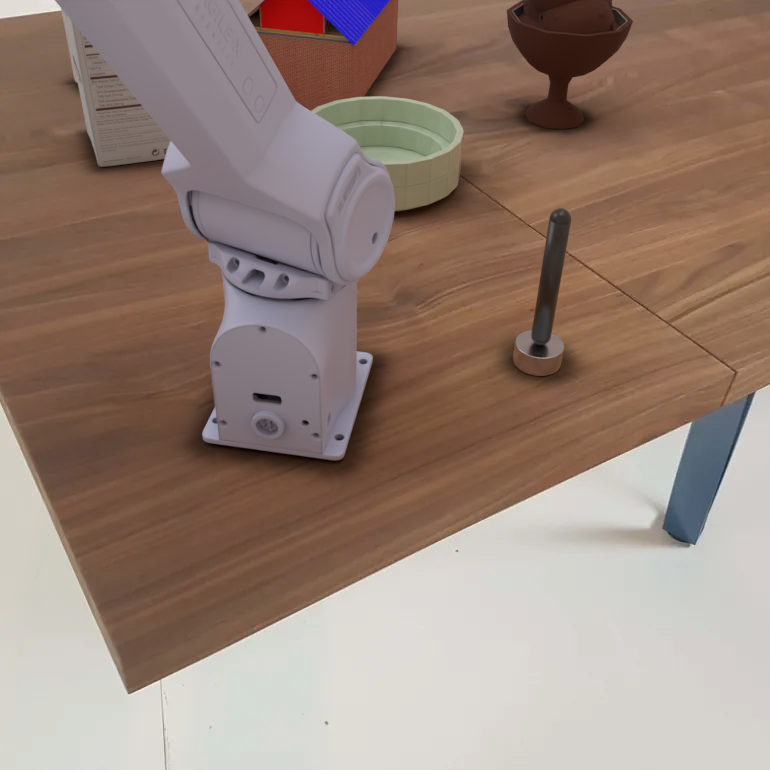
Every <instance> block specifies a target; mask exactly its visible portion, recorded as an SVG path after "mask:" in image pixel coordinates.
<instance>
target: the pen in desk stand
mask: <svg viewBox="0 0 770 770" xmlns="http://www.w3.org/2000/svg"><path fill="white" fill-rule="evenodd" d="M571 223H572V215H571V213H570V211H568V210H567V209H566V208H563V207H559V208H556V209H554V210H553V211H551V213H550V215H549V220H548V226H547V232H546V237H545V245H544V250H543V257H542V263H541V269H540V275H539V283H538V288H537V296H536V301H535V308H534V313H533V314H534V315H533V319H532V320H533V322H532V328H531V329H528V330H525V331H522V332H521V333H519V334H518V335H517V336H516V338H515V341H514V348H513V355H512V362H513V364H514V366H515V367H516V368H517V369H518V370H520V371H521V372H523V373H525V374H527V375H530V376H535V377H544V376H545V377H547V376H551V375H553V374H555V373H557V372H558V371H559V370H560V369H561V366H562V361H563V356H564V352H565V351H564V350H565V344H564V341H563V340H562V339H561V337H559V335H557V334H556V333H553V327H554V321H555V315H556V311H557V304H558V300H559V299H558V298H559V292H560V287H561V282H562V277H563V270H564V264H565V258H566V254H567V253H566V252H567V247H568V241H569V236H570V229H571Z"/></svg>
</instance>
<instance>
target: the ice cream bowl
mask: <svg viewBox="0 0 770 770" xmlns="http://www.w3.org/2000/svg"><path fill="white" fill-rule="evenodd" d="M506 19H507V28H508V32H509V34H510V37H511V39H512V42H513V44H514V45H515V47H516V48H517V50H518V51H519V53H520V54H521V56H522V57H523V58H524V60H525V61H526V62H527V63H528V64H529V66H531V67H532V68H534V69H535V70H536V71H537V72H540V73H541V74H544V75H547V76H548V79H549V86H548V94H547V97H546V98H544V99H541V100H538V101H536V102H534V103H532V104H531V105H530V106H529V107H528V108H527V109H526V111H525V113H524V115H525V117H526V119H527V121H528V122H529V123H532V124H534V125H536V126H538V127H541V128H544V129H545V128H547V129H553V130H567V129H572V128H578V127H579V126H580V125H581V124H582V123H583V122H584V121H585V120H584V114H583V113H582V111H581V110H580V107H577V106H576V105H575V104H573V103H572V102H571V101H569V100H567V99H568V93H569V92H568V91H569V84H570V83H571V81H572V79H573V78H577V77H583V76H586V75H588V74H590V73H592V72H594V71H596V70H597V69H598V68H600V67H601V66H602V65H604V64H605V62H607V61H608V60H609V59H611V58H612V57H613V56H614V55H615V54H616V53H618V51H619V50H620V48H621V47H622V45H623V44H624V42H625V41H626V40H627V38H628V35H629V32H630V30H631V27H632V26H633V22H634V20H633V19H632V18H631V17H630V16H629V15H628V14H627V13H626V12H625V11H624V10H623V9H621V8H620V7H616V6H613V0H519V1H518V2H517V3H514V5H512V6H511V7H509V8H507V9H506Z"/></svg>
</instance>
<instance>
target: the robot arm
mask: <svg viewBox="0 0 770 770" xmlns="http://www.w3.org/2000/svg"><path fill="white" fill-rule="evenodd" d="M54 1H55V2H56V4H57V5H58V6H59V7H60V9H61V8H62V10H63V11H64V12H65V13H66V14H67V16H68V17H69V18H70V19H71V20H72V22H73V23H74V24H75V25H76V27H77V28H78V29H79V30H80V31H81V33H82V34H83V35H84V36H85V37H86V39H87V40H88V41H89V42H90V43H91V45H92V46H93V47H94V48H95V50H96V51H97V52H98V53H99V54H100V56H101V57H102V58H103V59H104V60H105V62H106V63H107V64H108V65H109V66H110V68H111V69H112V70H113V71H114V73H115V74H116V75H117V76H118V77H119V79H120V80H121V81H122V82H123V83H124V85H125V86H126V87H127V88H128V89H129V91H130V92H131V93H132V94H133V96H134V97H135V98H136V99H137V100H138V102H139V103H140V104H141V105H142V106H143V108H144V109H145V110H146V111H147V112H148V114H149V115H150V116H151V117H152V118H153V120H154V121H155V122H156V123H157V125H158V126H159V127H160V128H161V129H162V131H163V132H164V133H165V134H166V135H167V137H168V138H169V139H170V140H171V141H170V143H169V146H168V149H167V152H166V156H165V159H163V163H162V167H161V170H160V171H161V172H160V174H161V175H162V177H163V178H164V179H165V180H166V181H167V183H168V184H169V185H170V186H171V188H172V189H173V191H174V193H175V196H176V198H177V202H178V206H179V209H180V214H181V218H182V221H183V222H184V225H185V227H186V228H187V229H188V231H189V232H190V233H191V234H192V235H193V236H194V237H195V238H197V239H199V240H201V241H205V242H207V243H206V244H207V254H208V261H209V262H210V263H212V264H214V265H216V266H217V267H218V268H220V270H221V278H222V287H223V288H222V289H223V299H224V310H223V316H222V320H221V323H220V325H219V328H218V331H217V333H216V334H215V337H214V339H213V341H212V344H211V346H210V347H211V348H210V353H209V367H210V377H211V385H212V392H213V393H212V394H213V401H214V407H213V410H212V412H211V414H210V416H209V417H208V420H207V422H206V424H205V426H204V428H203V430H202V431H201V432H202V433H201V436H202V440H203V441H204V442H205V443H208V444H212V445H213V444H214V445H219V446H227V447H234V448H241V449H242V448H243V449H249V450H255V451H264V452H271V453H278V454H284V455H285V454H286V455H292V456H299V457H306V458H313V459H320V460H328V461H340V460H342V459H343V458H344V457H345V455H346V451H347V448H348V445H349V442H350V439H351V434H352V432H353V428H354V425H355V422H356V420H357V419H356V418H357V415H358V411H359V409H360V406H361V402H362V399H363V396H364V392H365V388H366V386H367V382H368V379H369V375H370V372H371V369H372V366H373V363H374V359H373V358H374V357H373V355H372V354H371V353H370V352H366V351H358V350H357V349H358V346H357V345H358V344H357V343H358V281H360V280H361V279H362V278H363V277H365V276H366V275H367V274H368V273H369V272H371V270H373V268H374V267H375V266H376V264H377V263H378V261H379V260H380V258H381V257H382V254H383V252H384V251H385V248H386V247H387V244H388V242H389V238H390V235H391V231H392V227H393V224H394V219H395V212H396V211H395V194H394V188H393V185H392V182H391V179H390V175H389V173H388V171H387V169H386V167H385V166H384V164H383V163H381V162H380V161H378V160H375V159H371V158H367V157H366V156H365V155H364V154H363V152H362V150H361V148H360V146H359V144H358V142H357V141H356V140H355V139H354V138H353V137H351V136H350V135H348V134H347V133H345V132H343V131H342V130H340V129H339V128H337V127H336V126H334V125H332V124H331V123H329V122H328V121H326V120H324V119H323V118H321V117H319V116H318V115H316V114H314V113H313V112H311V110H308V109H307V108H305V107H303V106H302V105H300V104H299V103H298V102H297V101H296V100H295V99H294V97H293V95H292V93H291V91H290V90H289V88H288V86H287V84H286V83H285V81H284V79H283V77H282V76H281V74H280V72H279V70H278V68H277V67H276V65H275V63H274V61H273V60H272V58H271V56H270V54H269V53H268V51H267V49H266V47H265V46H264V44H263V42H262V40H261V38H260V37H259V35H258V33H257V31H256V30H255V28H254V26H253V24H252V23H251V21H250V19H249V17H248V13H247V12H246V10H245V9H244V7H243V5H242V3H241V1H240V0H54ZM394 211H395V212H394Z"/></svg>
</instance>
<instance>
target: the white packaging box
mask: <svg viewBox="0 0 770 770" xmlns="http://www.w3.org/2000/svg"><path fill="white" fill-rule="evenodd" d="M64 15H65V20H66V25H67V30H68V35H69V40H70V46H71V51H72V56H73V61H74V66H75V71H76V76H77V82H78V83H77V82H76V83H77V86H78V91H79V97H80V101H81V107H82V114H83V117H84V122H85V123H84V124H85V128H86V133H87V135H88V137H89V139H90V142H91V146H92V148H93V151H94V155H95V158H96V163H97V166H98V167H101V168H106V167H115V166H120V165H121V166H122V165H129V164H138V163H146V162H152V161H159V160H164V159H165V156H166V152H167V149H168V146H169V143H170V141H171V140H170V139H169V138H168V137H167V135H166V134H165V133H164V132H163V131H162V129H161V128H160V127H159V126H158V125H157V123H156V122H155V121H154V120H153V118H152V117H151V116H150V115H149V114H148V112H147V111H146V110H145V109H144V108H143V106H142V105H141V104H140V103H139V102H138V100H137V99H136V98H135V97H134V96H133V94H132V93H131V92H130V91H129V89H128V88H127V87H126V86H125V85H124V83H123V82H122V81H121V80H120V79H119V77H118V76H117V75H116V74H115V73H114V71H113V70H112V69H111V68H110V66H109V65H108V64H107V63H106V62H105V60H104V59H103V58H102V57H101V56H100V54H99V53H98V52H97V51H96V50H95V48H94V47H93V46H92V45H91V43H90V42H89V41H88V40H87V39H86V37H85V36H84V35H83V34H82V33H81V31H80V30H79V29H78V28H77V27H76V25H75V24H74V23H73V22H72V20H71V19H70V18H69V17H68V16H67V14H66V13H65V12H64Z"/></svg>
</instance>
